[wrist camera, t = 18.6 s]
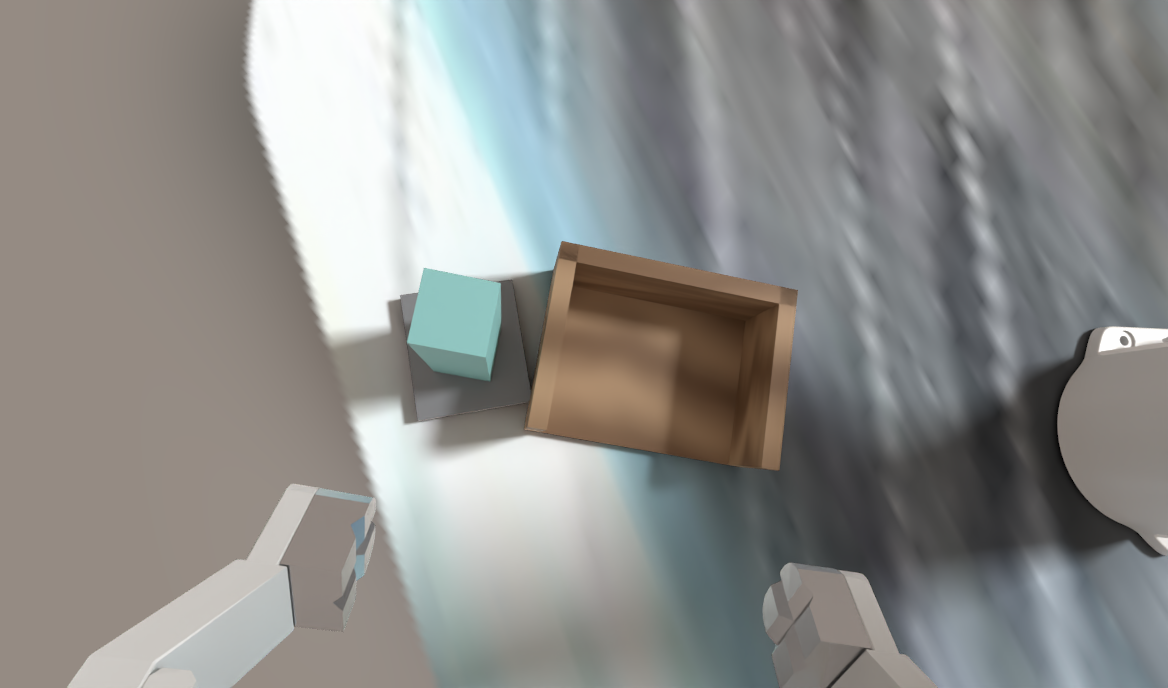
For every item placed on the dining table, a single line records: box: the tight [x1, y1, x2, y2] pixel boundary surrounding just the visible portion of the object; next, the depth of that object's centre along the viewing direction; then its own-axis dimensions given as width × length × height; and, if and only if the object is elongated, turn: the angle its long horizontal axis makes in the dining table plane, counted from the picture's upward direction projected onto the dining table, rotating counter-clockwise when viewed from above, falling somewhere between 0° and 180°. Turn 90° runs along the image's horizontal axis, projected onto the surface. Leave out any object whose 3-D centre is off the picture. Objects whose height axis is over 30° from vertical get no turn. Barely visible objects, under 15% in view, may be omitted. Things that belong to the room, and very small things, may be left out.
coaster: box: [400, 280, 531, 421], centre depth 43 cm, size 8×9×1 cm
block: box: [407, 268, 501, 382], centre depth 36 cm, size 4×4×12 cm
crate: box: [524, 241, 798, 471], centre depth 42 cm, size 12×16×6 cm
